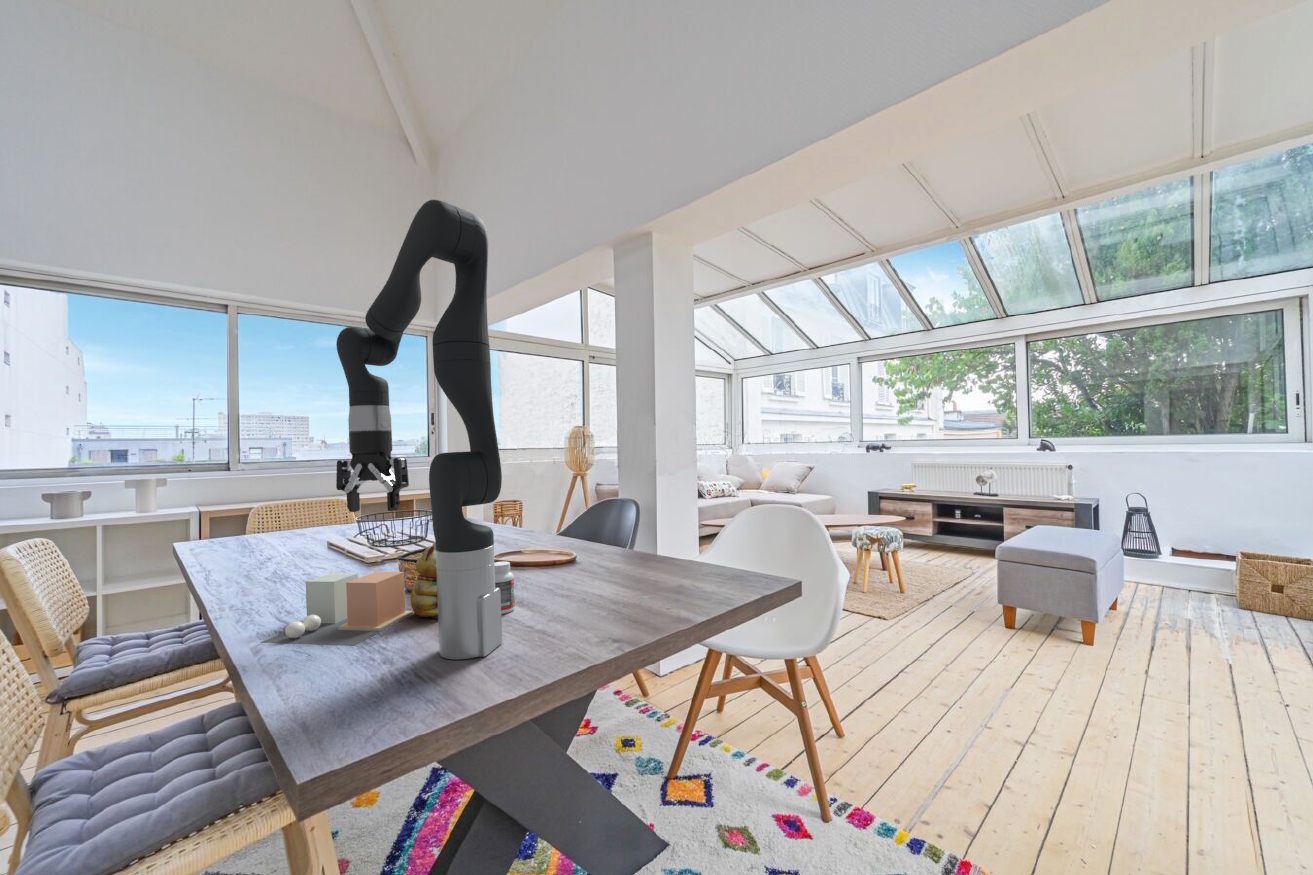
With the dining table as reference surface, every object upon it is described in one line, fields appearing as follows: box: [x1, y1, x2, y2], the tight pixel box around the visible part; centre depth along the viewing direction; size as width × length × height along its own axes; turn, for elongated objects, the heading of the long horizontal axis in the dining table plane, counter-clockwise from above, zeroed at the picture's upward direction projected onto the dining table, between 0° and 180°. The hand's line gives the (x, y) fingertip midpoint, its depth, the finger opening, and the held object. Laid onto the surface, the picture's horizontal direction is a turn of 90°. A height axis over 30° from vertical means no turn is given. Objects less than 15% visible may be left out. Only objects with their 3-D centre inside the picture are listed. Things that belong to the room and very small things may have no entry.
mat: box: [260, 610, 416, 647], centre depth 102 cm, size 19×17×1 cm
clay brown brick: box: [346, 571, 406, 626], centre depth 105 cm, size 6×8×8 cm
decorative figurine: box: [410, 542, 438, 620], centre depth 109 cm, size 10×8×15 cm
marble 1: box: [284, 620, 305, 639], centre depth 97 cm, size 3×3×3 cm
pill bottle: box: [494, 561, 516, 615], centre depth 110 cm, size 5×5×10 cm
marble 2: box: [302, 615, 321, 631], centre depth 101 cm, size 3×3×3 cm
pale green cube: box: [305, 572, 359, 623], centre depth 108 cm, size 6×6×8 cm
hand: (373, 511), depth 106 cm, fingers open, 8 cm apart
